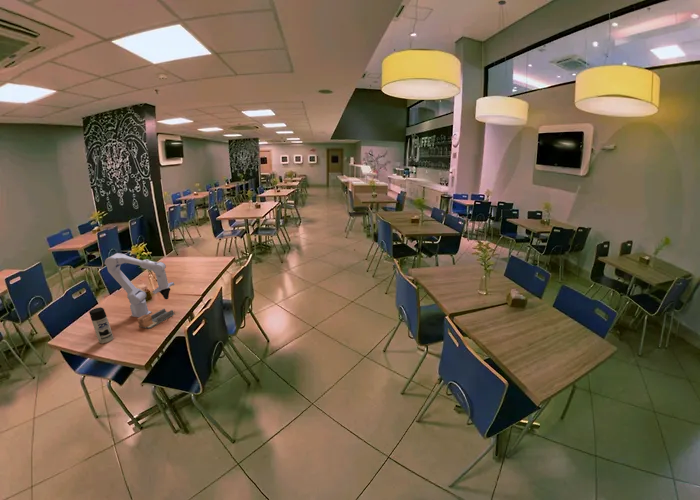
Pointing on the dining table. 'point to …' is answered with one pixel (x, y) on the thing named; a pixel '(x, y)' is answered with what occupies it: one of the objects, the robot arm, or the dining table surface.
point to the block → (145, 320)
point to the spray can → (101, 325)
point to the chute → (159, 317)
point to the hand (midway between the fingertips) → (166, 298)
